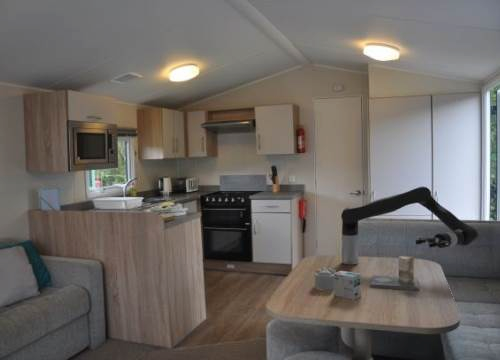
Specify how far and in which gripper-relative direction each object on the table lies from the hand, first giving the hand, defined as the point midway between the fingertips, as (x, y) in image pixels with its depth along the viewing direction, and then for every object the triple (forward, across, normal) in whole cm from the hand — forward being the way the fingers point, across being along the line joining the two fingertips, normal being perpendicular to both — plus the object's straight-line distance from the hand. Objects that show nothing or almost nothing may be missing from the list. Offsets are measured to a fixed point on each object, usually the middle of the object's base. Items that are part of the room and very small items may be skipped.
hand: (422, 243), depth 216 cm
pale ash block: (+11, 0, +17) cm, 21 cm away
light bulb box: (+46, -1, +19) cm, 50 cm away
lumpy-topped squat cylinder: (+46, -18, +19) cm, 53 cm away
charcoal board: (+15, -4, +19) cm, 25 cm away
